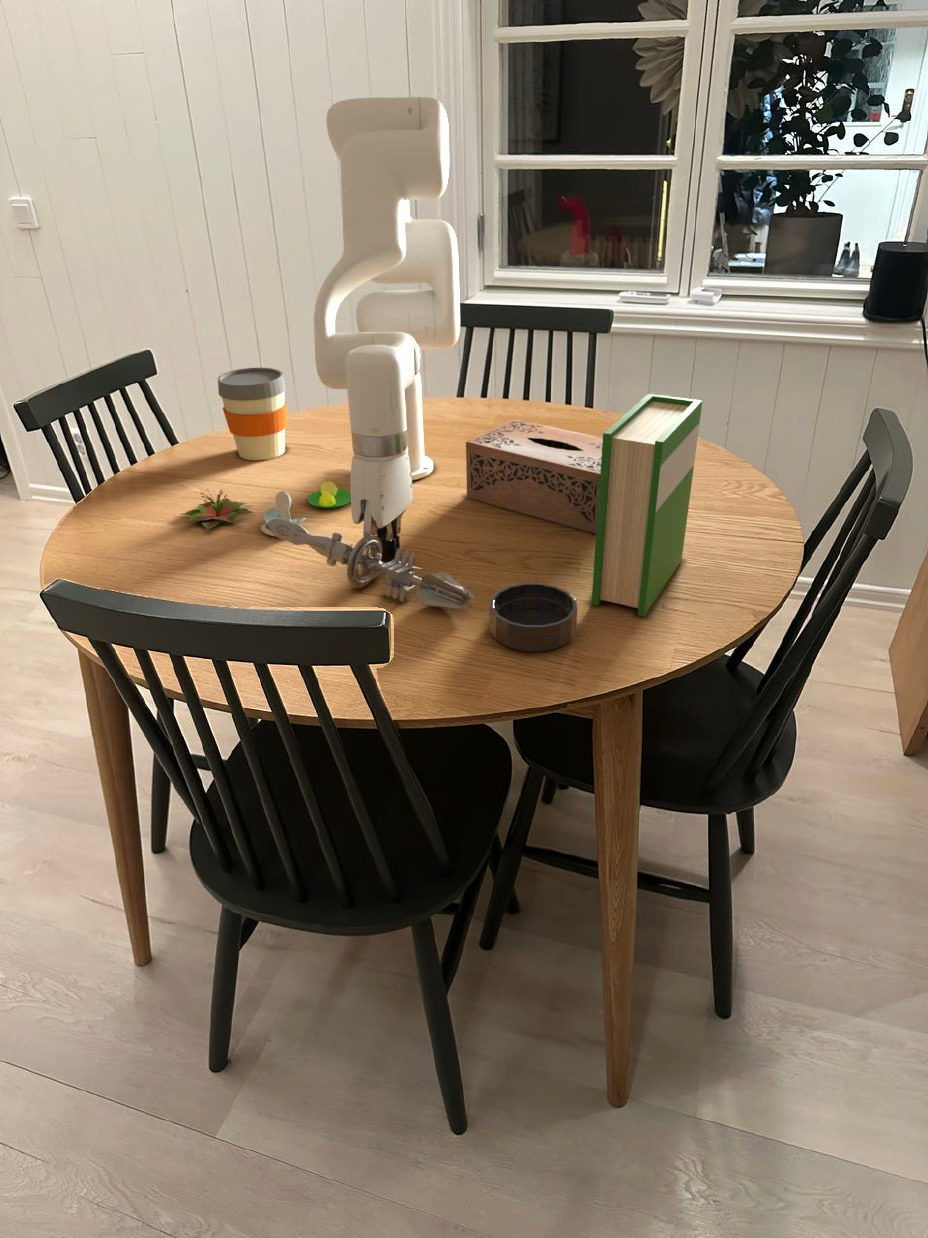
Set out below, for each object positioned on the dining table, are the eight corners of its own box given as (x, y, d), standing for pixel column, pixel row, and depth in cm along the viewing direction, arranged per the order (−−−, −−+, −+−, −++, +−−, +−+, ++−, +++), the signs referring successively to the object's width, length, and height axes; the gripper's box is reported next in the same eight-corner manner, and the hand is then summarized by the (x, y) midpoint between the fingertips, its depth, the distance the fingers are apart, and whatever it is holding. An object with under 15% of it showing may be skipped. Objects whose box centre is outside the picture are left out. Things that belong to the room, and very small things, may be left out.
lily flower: (268, 516, 141) (264, 490, 138) (204, 539, 134) (199, 513, 131) (230, 496, 148) (226, 472, 146) (167, 517, 141) (162, 492, 139)
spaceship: (290, 497, 127) (255, 497, 120) (491, 572, 114) (465, 576, 107) (279, 548, 129) (244, 550, 122) (476, 626, 116) (449, 634, 109)
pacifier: (285, 543, 132) (311, 528, 137) (279, 507, 129) (306, 492, 133) (252, 532, 136) (279, 518, 140) (245, 497, 133) (273, 483, 137)
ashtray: (476, 642, 107) (475, 615, 105) (509, 602, 115) (510, 576, 113) (558, 662, 103) (559, 634, 101) (586, 618, 111) (588, 592, 109)
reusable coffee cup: (307, 447, 168) (297, 372, 161) (262, 468, 160) (250, 389, 152) (261, 437, 174) (250, 363, 166) (216, 456, 165) (201, 379, 158)
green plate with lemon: (303, 496, 148) (301, 481, 146) (347, 488, 150) (345, 473, 149) (314, 513, 141) (312, 498, 140) (360, 505, 144) (359, 490, 142)
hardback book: (644, 616, 111) (663, 442, 99) (591, 604, 114) (603, 433, 102) (681, 560, 125) (702, 400, 112) (633, 550, 128) (648, 393, 115)
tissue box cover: (466, 497, 146) (465, 441, 141) (513, 471, 156) (514, 418, 150) (597, 534, 133) (602, 474, 127) (640, 503, 142) (645, 446, 137)
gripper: (382, 420, 122) (391, 534, 132) (326, 455, 110) (340, 578, 120) (429, 427, 119) (434, 543, 129) (376, 463, 108) (386, 588, 117)
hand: (388, 559), depth 125 cm, fingers closed
